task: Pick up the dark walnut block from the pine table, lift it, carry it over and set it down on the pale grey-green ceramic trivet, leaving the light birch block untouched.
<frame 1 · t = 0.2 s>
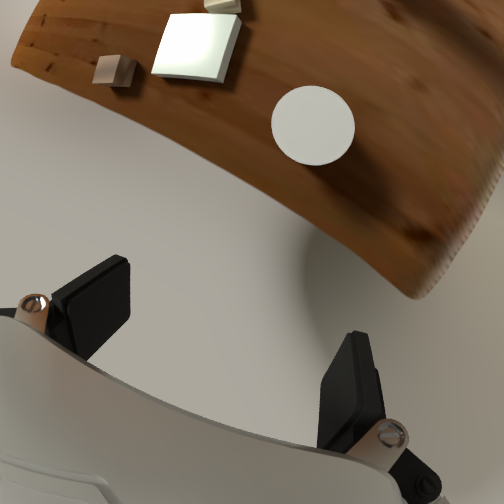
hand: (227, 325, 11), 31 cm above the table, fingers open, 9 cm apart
white cylinder: (312, 133, 35), on the table
trivet: (199, 48, 33), on the table
birch block: (226, 5, 30), on the table
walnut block: (123, 73, 37), on the table
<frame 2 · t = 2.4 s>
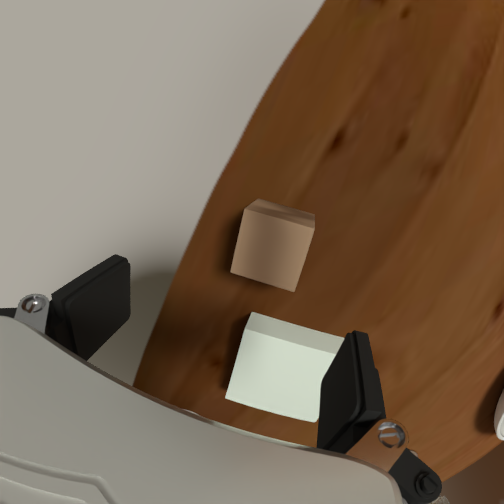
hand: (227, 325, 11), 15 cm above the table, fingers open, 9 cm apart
trivet: (288, 364, 29), on the table
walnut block: (279, 233, 24), on the table
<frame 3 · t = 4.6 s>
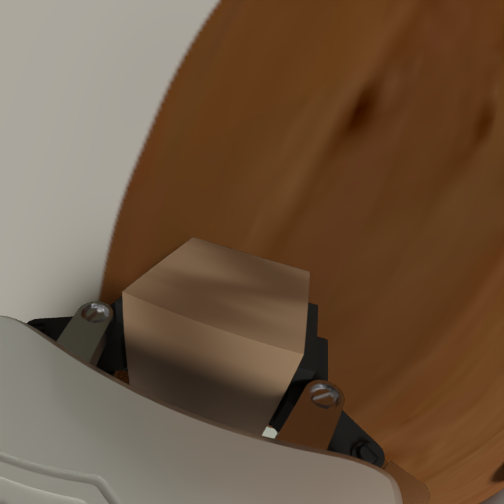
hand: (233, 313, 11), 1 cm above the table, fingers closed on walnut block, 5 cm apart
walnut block: (237, 304, 12), on the table, touching gripper
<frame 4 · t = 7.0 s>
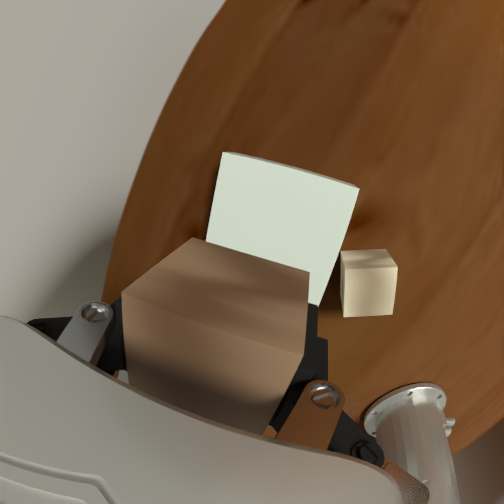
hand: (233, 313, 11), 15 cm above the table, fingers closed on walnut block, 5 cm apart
trivet: (278, 225, 25), on the table
birch block: (362, 271, 25), on the table
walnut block: (237, 305, 12), point 14 cm above the table, touching gripper
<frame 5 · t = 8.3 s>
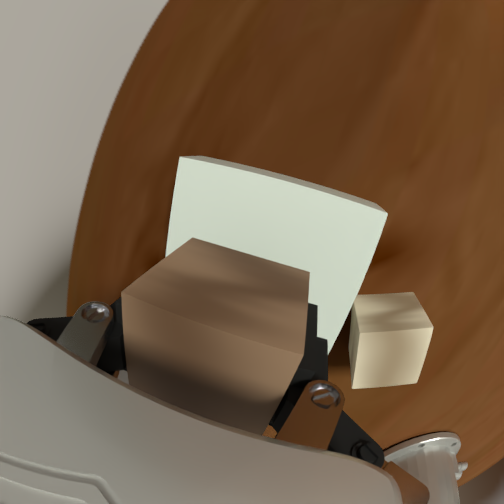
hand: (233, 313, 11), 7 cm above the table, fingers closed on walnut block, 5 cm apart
trivet: (265, 260, 18), on the table
birch block: (380, 320, 18), on the table
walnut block: (237, 305, 12), point 6 cm above the table, touching gripper
when the fingers open (5 cm above the table, at t = 9.5 s): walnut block drops 1 cm, resting on trivet.
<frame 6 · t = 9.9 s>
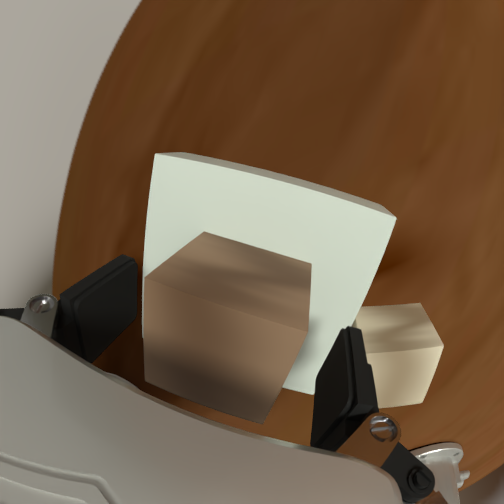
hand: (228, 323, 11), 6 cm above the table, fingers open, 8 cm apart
trivet: (255, 268, 16), on the table
birch block: (383, 334, 16), on the table
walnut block: (244, 294, 13), point 3 cm above the table, touching trivet
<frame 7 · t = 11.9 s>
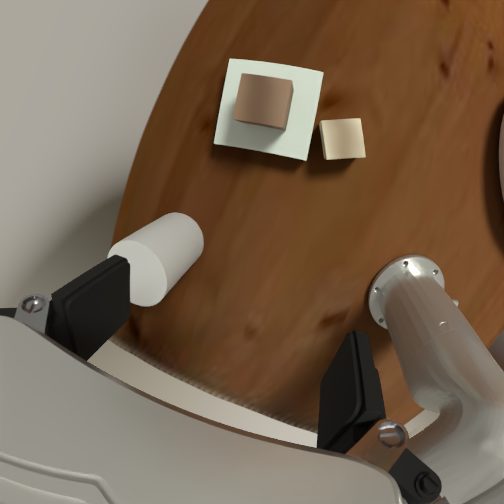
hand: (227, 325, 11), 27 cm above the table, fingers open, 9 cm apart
white cylinder: (178, 239, 40), on the table
trivet: (270, 109, 31), on the table
birch block: (338, 139, 31), on the table
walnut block: (268, 106, 28), point 3 cm above the table, touching trivet
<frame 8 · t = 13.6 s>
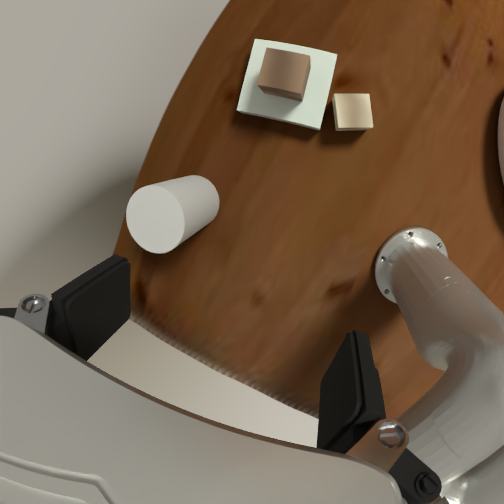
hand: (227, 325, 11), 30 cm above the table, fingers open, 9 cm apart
white cylinder: (194, 201, 42), on the table
trivet: (289, 85, 33), on the table
birch block: (349, 115, 33), on the table
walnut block: (287, 80, 30), point 3 cm above the table, touching trivet
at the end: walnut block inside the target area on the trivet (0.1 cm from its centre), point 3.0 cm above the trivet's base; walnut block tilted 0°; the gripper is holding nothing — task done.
